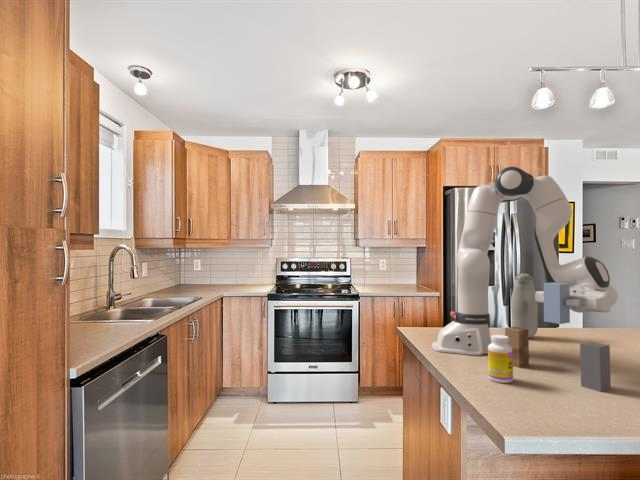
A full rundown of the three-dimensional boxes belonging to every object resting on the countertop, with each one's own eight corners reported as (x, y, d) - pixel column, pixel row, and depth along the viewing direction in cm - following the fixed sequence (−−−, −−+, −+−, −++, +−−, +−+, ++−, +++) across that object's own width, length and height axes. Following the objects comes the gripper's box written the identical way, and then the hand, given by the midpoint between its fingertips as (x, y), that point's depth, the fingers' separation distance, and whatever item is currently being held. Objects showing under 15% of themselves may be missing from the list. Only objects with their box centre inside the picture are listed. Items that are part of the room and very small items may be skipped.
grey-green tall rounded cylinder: (508, 334, 172) (507, 272, 173) (532, 335, 171) (531, 272, 172) (516, 340, 162) (515, 274, 163) (542, 340, 161) (540, 274, 162)
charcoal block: (600, 391, 103) (599, 347, 104) (581, 386, 108) (580, 343, 108) (610, 388, 106) (609, 345, 106) (591, 383, 110) (590, 341, 110)
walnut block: (519, 367, 125) (518, 330, 125) (505, 363, 129) (505, 328, 130) (529, 365, 127) (528, 329, 127) (515, 361, 132) (514, 326, 132)
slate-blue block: (560, 324, 116) (559, 284, 116) (543, 321, 120) (543, 283, 121) (569, 322, 118) (569, 283, 118) (553, 319, 123) (553, 282, 123)
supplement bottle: (511, 385, 109) (511, 340, 109) (486, 381, 112) (485, 337, 113) (514, 378, 114) (513, 335, 115) (490, 374, 118) (489, 333, 118)
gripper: (549, 286, 135) (523, 287, 128) (615, 292, 116) (589, 294, 110) (549, 304, 135) (523, 306, 128) (615, 313, 116) (589, 316, 110)
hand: (554, 301), depth 119 cm, fingers closed on slate-blue block, 5 cm apart
